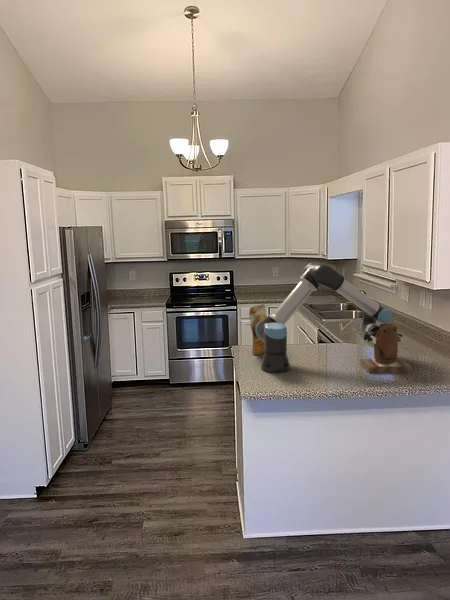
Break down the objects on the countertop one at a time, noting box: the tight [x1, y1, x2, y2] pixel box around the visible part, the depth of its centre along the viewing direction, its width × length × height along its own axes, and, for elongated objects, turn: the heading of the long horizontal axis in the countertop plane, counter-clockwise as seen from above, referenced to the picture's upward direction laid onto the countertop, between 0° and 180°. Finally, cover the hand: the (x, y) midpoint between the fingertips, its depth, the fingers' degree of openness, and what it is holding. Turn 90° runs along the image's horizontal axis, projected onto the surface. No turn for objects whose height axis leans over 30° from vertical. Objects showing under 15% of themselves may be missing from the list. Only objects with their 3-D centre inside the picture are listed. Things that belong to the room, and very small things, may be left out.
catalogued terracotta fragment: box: [373, 322, 399, 363], centre depth 244 cm, size 11×8×20 cm
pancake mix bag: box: [248, 303, 268, 356], centre depth 280 cm, size 7×19×28 cm, turn 141°
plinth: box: [359, 357, 413, 374], centre depth 246 cm, size 22×15×3 cm
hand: (388, 340), depth 241 cm, fingers open, 13 cm apart
